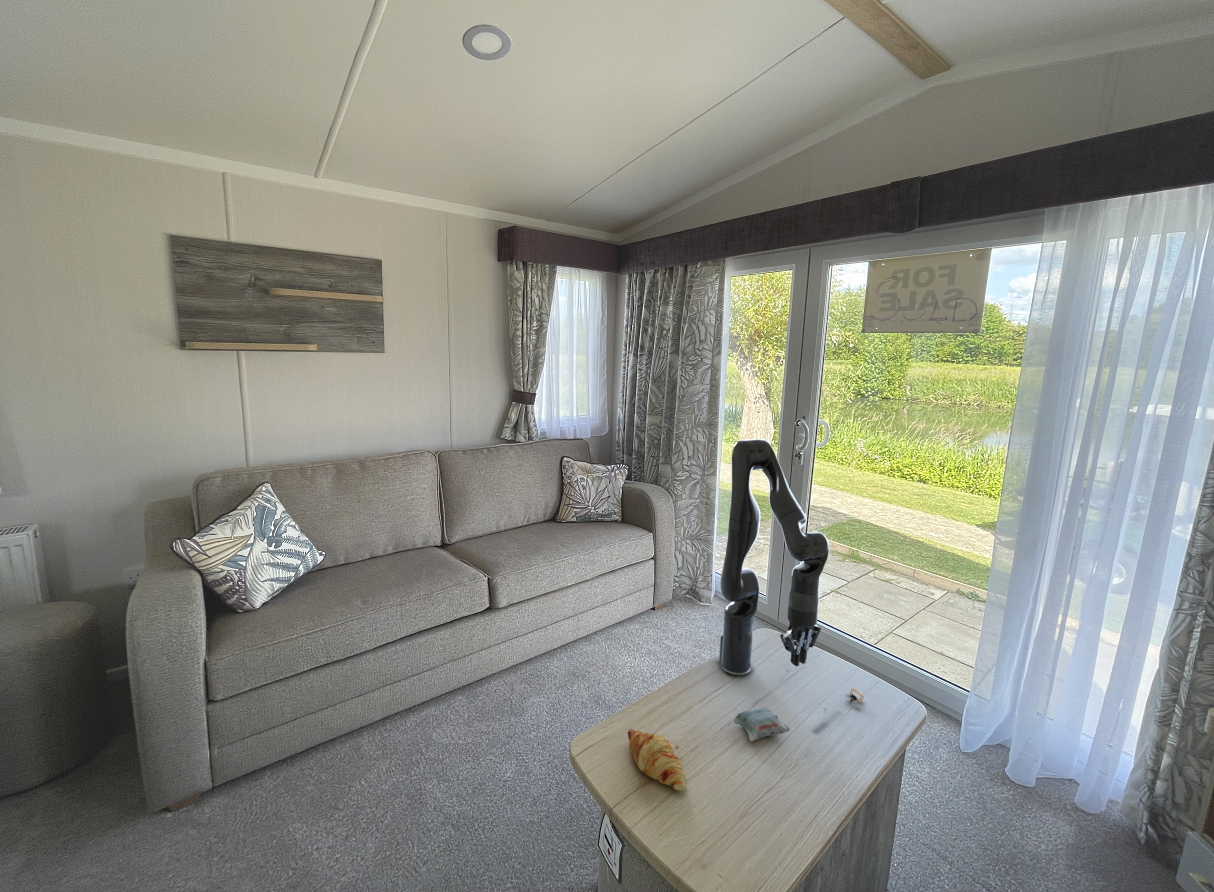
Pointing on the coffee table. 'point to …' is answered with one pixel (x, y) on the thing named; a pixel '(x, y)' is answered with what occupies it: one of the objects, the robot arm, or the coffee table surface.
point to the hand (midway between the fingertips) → (798, 663)
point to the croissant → (656, 759)
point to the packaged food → (760, 723)
